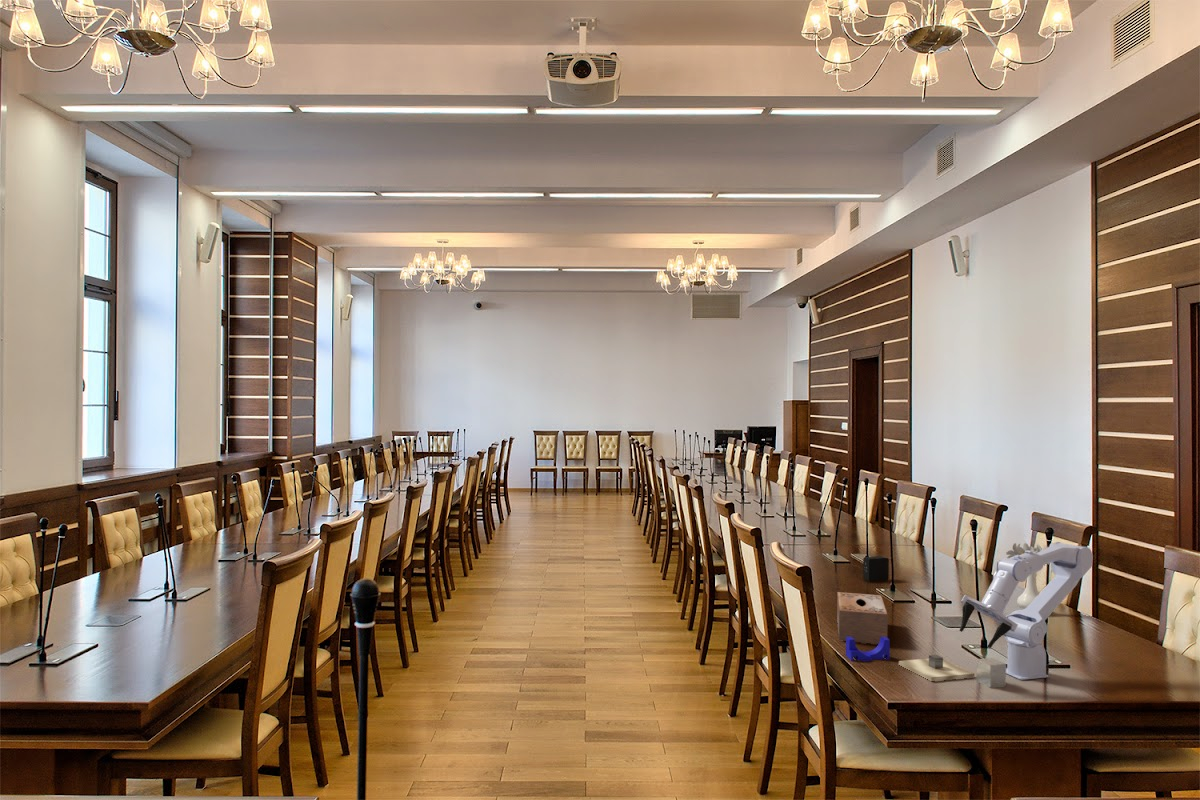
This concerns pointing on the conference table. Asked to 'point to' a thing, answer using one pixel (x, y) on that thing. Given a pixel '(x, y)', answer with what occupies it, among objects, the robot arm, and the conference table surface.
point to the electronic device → (876, 568)
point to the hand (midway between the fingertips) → (975, 638)
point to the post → (935, 661)
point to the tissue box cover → (861, 617)
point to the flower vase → (1031, 586)
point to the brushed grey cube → (991, 672)
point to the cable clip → (877, 653)
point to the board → (936, 670)
